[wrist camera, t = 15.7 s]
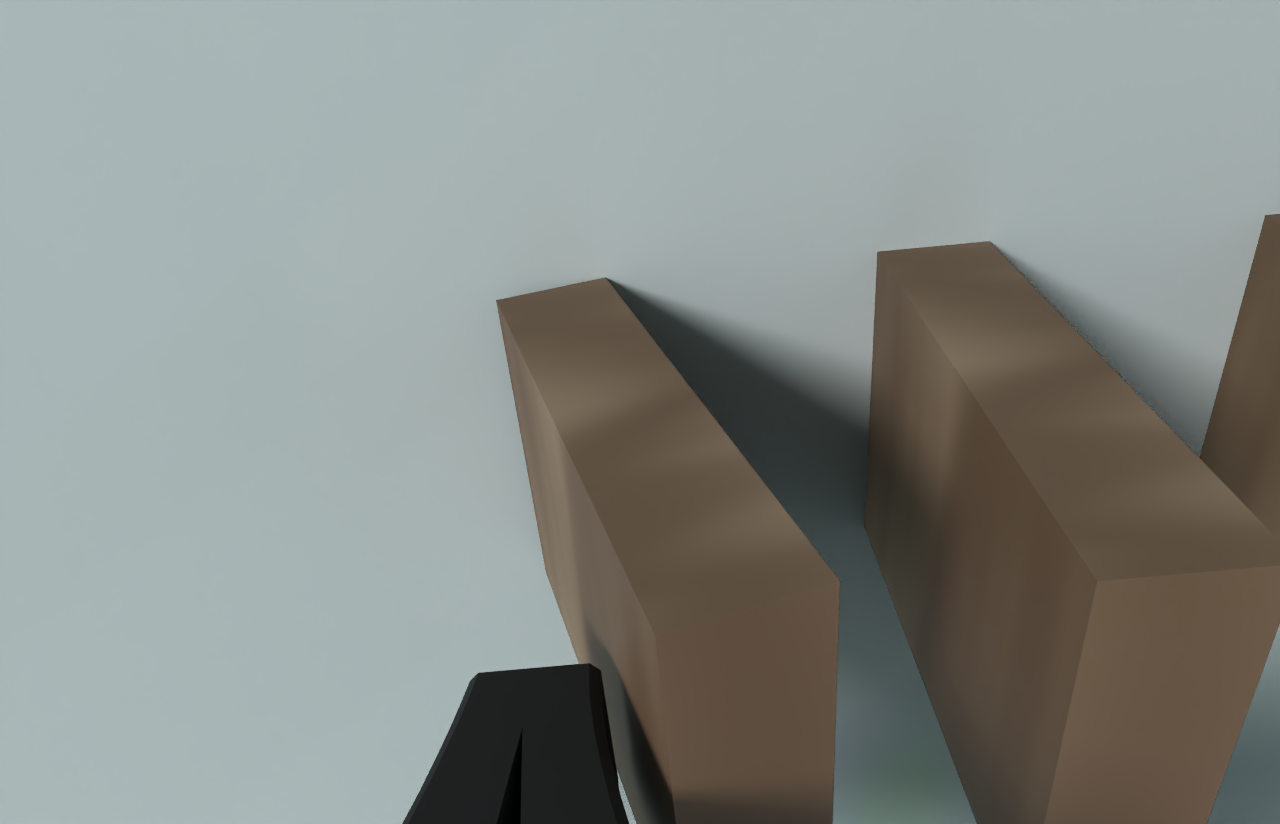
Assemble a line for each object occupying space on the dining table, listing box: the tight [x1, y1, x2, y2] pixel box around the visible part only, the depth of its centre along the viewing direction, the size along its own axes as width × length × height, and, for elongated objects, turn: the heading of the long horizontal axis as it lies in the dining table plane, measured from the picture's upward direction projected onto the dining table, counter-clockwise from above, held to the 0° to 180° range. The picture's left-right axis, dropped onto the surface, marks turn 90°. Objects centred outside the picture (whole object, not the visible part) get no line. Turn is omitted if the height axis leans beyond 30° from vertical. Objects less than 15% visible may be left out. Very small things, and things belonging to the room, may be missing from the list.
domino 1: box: [496, 278, 840, 824], centre depth 12 cm, size 2×5×7 cm, turn 6°
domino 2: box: [865, 241, 1280, 824], centre depth 12 cm, size 2×5×7 cm, turn 5°
